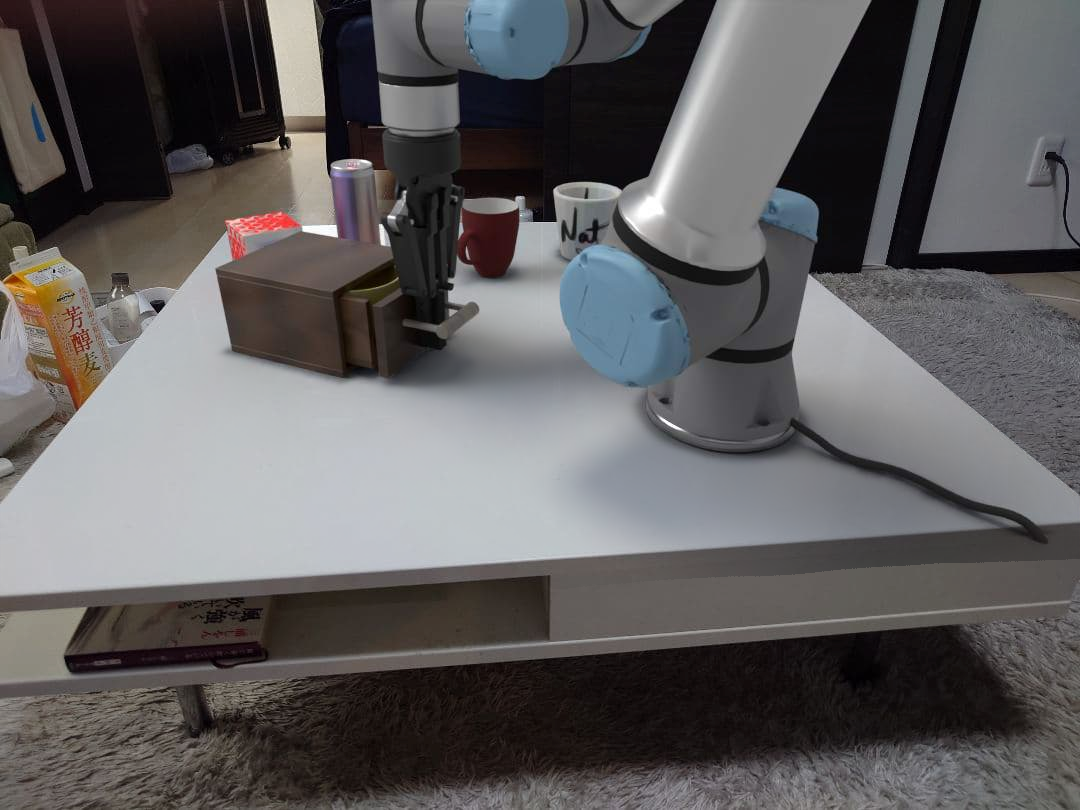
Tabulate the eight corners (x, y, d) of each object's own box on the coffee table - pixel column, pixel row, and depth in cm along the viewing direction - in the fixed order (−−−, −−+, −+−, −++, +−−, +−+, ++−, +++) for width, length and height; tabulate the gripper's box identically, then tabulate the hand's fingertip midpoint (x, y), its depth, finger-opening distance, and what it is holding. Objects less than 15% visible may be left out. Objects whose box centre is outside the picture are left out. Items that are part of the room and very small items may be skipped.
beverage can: (341, 276, 111) (329, 169, 103) (341, 262, 116) (329, 159, 108) (384, 273, 112) (374, 168, 104) (381, 259, 117) (372, 158, 109)
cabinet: (413, 327, 96) (408, 249, 91) (343, 378, 85) (332, 292, 79) (311, 305, 101) (300, 230, 96) (231, 350, 90) (214, 268, 85)
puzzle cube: (289, 264, 114) (281, 211, 110) (309, 280, 109) (301, 225, 105) (235, 275, 110) (224, 220, 106) (253, 292, 105) (242, 236, 101)
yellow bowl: (396, 310, 96) (391, 254, 92) (414, 344, 88) (409, 284, 84) (312, 320, 93) (304, 263, 89) (323, 356, 85) (314, 295, 81)
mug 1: (489, 293, 106) (488, 222, 101) (442, 281, 110) (438, 212, 104) (529, 270, 114) (530, 203, 109) (484, 260, 117) (483, 194, 112)
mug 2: (547, 264, 116) (549, 197, 111) (558, 233, 129) (560, 172, 124) (616, 268, 115) (621, 202, 110) (621, 237, 128) (625, 176, 123)
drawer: (493, 340, 91) (492, 273, 87) (435, 390, 81) (431, 317, 77) (350, 310, 98) (342, 247, 94) (279, 352, 88) (268, 284, 83)
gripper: (422, 113, 81) (433, 318, 93) (348, 136, 71) (371, 363, 83) (486, 120, 79) (488, 330, 91) (419, 145, 69) (432, 378, 81)
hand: (432, 345), depth 87 cm, fingers closed
